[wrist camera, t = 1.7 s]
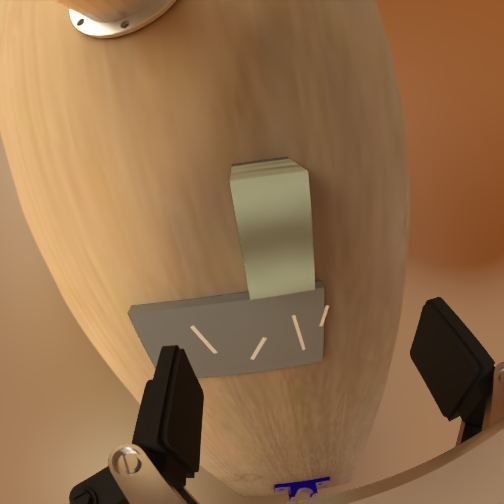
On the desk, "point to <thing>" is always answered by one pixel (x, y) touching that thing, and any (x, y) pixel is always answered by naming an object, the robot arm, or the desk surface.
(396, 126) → the desk surface
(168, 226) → the desk surface
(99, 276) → the desk surface
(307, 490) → the mounting bracket
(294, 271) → the block
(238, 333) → the board
